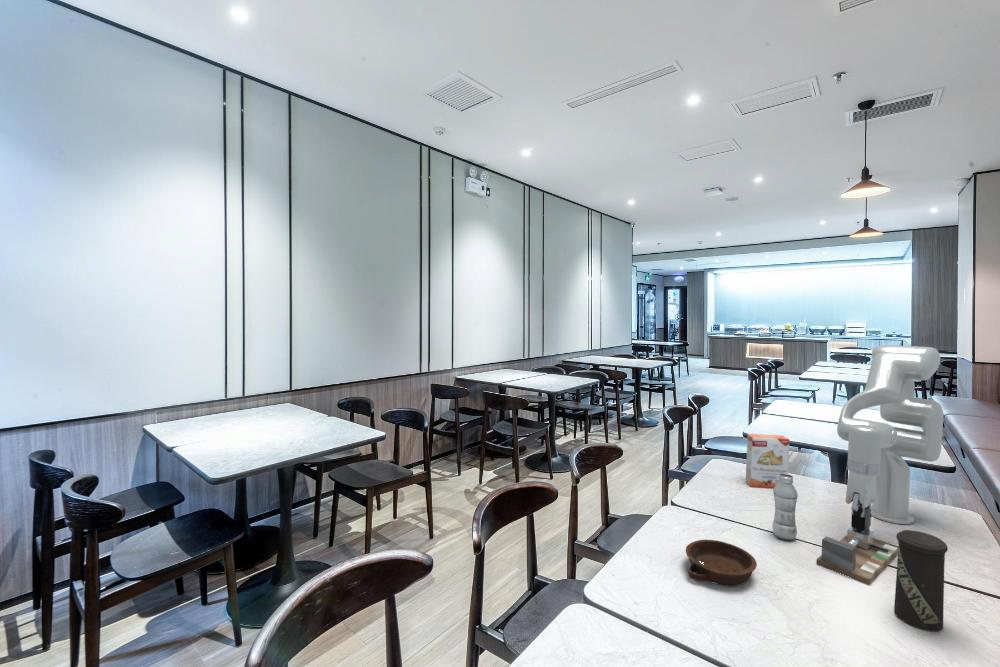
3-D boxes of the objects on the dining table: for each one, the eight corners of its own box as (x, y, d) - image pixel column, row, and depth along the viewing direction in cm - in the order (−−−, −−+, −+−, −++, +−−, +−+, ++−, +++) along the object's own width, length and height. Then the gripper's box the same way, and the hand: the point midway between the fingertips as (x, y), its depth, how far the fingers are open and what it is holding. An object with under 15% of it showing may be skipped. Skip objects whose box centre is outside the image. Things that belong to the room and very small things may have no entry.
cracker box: (750, 487, 182) (752, 437, 181) (745, 482, 188) (746, 433, 187) (788, 489, 180) (790, 438, 179) (781, 484, 186) (783, 434, 185)
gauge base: (851, 535, 144) (852, 512, 143) (900, 551, 134) (901, 527, 133) (816, 564, 127) (817, 538, 127) (869, 585, 118) (870, 557, 117)
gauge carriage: (853, 537, 139) (854, 502, 138) (890, 550, 131) (892, 513, 131) (840, 548, 132) (841, 511, 132) (879, 562, 125) (880, 523, 124)
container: (882, 608, 109) (886, 527, 108) (916, 606, 109) (920, 526, 108) (919, 633, 100) (923, 546, 99) (955, 631, 101) (960, 544, 100)
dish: (774, 577, 122) (775, 559, 121) (723, 603, 111) (724, 583, 110) (716, 547, 137) (716, 531, 136) (666, 568, 126) (666, 550, 126)
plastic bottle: (800, 543, 139) (802, 480, 138) (776, 541, 140) (778, 478, 139) (791, 533, 145) (793, 472, 144) (768, 531, 146) (770, 471, 145)
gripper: (857, 458, 142) (855, 514, 143) (837, 468, 132) (835, 529, 133) (888, 464, 136) (885, 523, 137) (869, 476, 126) (867, 540, 127)
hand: (860, 525), depth 135 cm, fingers closed on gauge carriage, 4 cm apart
